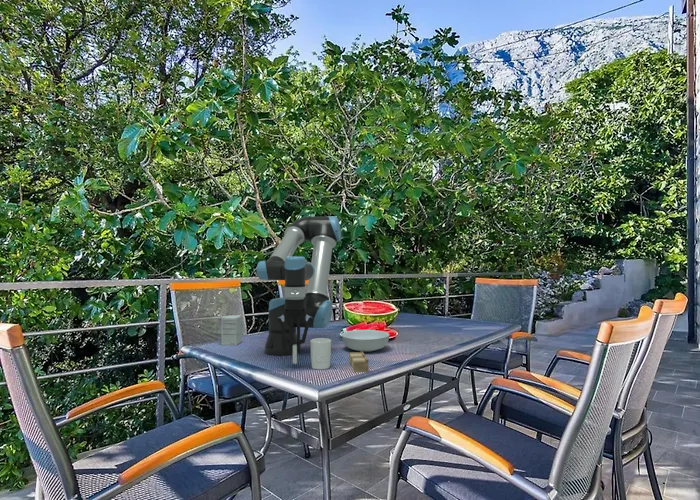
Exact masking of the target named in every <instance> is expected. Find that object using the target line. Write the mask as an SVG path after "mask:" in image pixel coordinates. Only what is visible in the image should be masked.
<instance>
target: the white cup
mask: <svg viewBox="0 0 700 500" xmlns="http://www.w3.org/2000/svg"><path fill="white" fill-rule="evenodd" d="M309 341H310V342H309V343H310V344H309V345H310V362H311V369H314V370H327V369H329V368H331V367H330V366H331V363H330V362H331V358H332V356H331V353H332V339H330V338H325V337H318V338H312V339H310V340H309Z"/></svg>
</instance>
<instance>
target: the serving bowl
mask: <svg viewBox="0 0 700 500" xmlns="http://www.w3.org/2000/svg"><path fill="white" fill-rule="evenodd" d="M341 339H342V342H343V344H344V345H345V346H346V347H347V348H348V349H351V350H354V351H357V352H361V351H363V353H368V352H375V351H378V350H381V349H383V348H385V346H386V345H388V342H389V339H390V333H388V332H387V331H383V330H378V329H377V330H376V329H354V330H349V331H345V332H342V333H341Z"/></svg>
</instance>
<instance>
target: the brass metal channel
mask: <svg viewBox="0 0 700 500" xmlns="http://www.w3.org/2000/svg"><path fill="white" fill-rule="evenodd" d="M348 353H349V355H348V356H349V357H348V358H349V359H348V361H349V364H350V367H351V368H352V370H353V372H354V373H368V372H369V359H368V357H367V356H366V355H365V352H363V351H357V352H356V351H354V352H353V351H351V352H348Z"/></svg>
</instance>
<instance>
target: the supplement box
mask: <svg viewBox="0 0 700 500" xmlns="http://www.w3.org/2000/svg"><path fill="white" fill-rule="evenodd" d="M242 316H243V315H226V316H223V317H221V319H220V320H221V323H220V324H221V325H220V326H221V330H220V331H221V333H220V335H221V337H220V338H221V340H220V341H221V344H220V345H222V346H233V345H236V346H238V345H239V344H241V343H242V342H243V341H242V339H243V336H242V334H243V332H242V330H243V329H242V328H243V326H242V325H243V324H242V323H243V322H242V320H243V317H242Z"/></svg>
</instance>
